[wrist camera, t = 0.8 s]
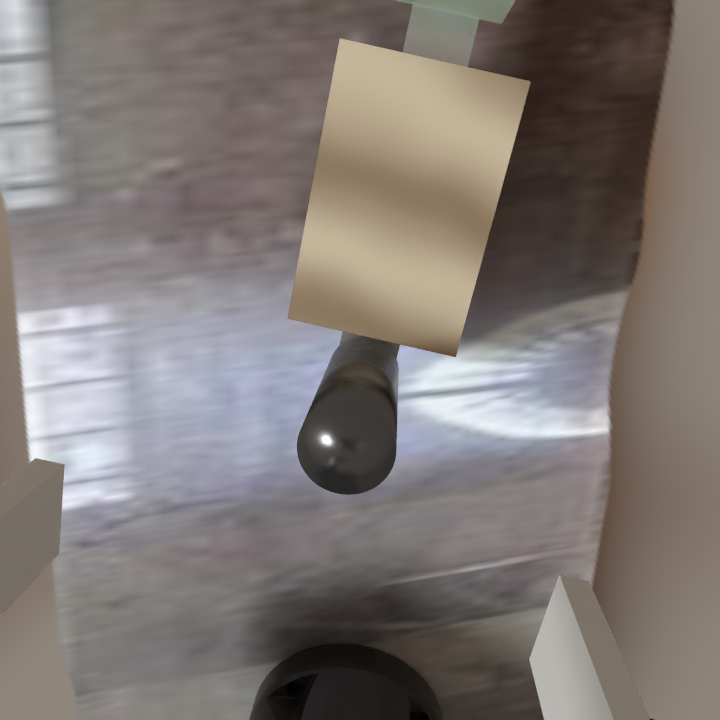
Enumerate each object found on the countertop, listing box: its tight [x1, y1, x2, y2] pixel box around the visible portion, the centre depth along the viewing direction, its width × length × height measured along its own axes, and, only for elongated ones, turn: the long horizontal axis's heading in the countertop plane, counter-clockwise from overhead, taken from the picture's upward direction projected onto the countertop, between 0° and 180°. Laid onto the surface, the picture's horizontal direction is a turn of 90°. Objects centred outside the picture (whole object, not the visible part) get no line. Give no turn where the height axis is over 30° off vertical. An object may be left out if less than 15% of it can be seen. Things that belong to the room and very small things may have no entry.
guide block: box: [287, 39, 531, 357], centre depth 32 cm, size 12×8×11 cm, turn 168°
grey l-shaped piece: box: [297, 4, 479, 495], centre depth 25 cm, size 24×4×13 cm, turn 168°
